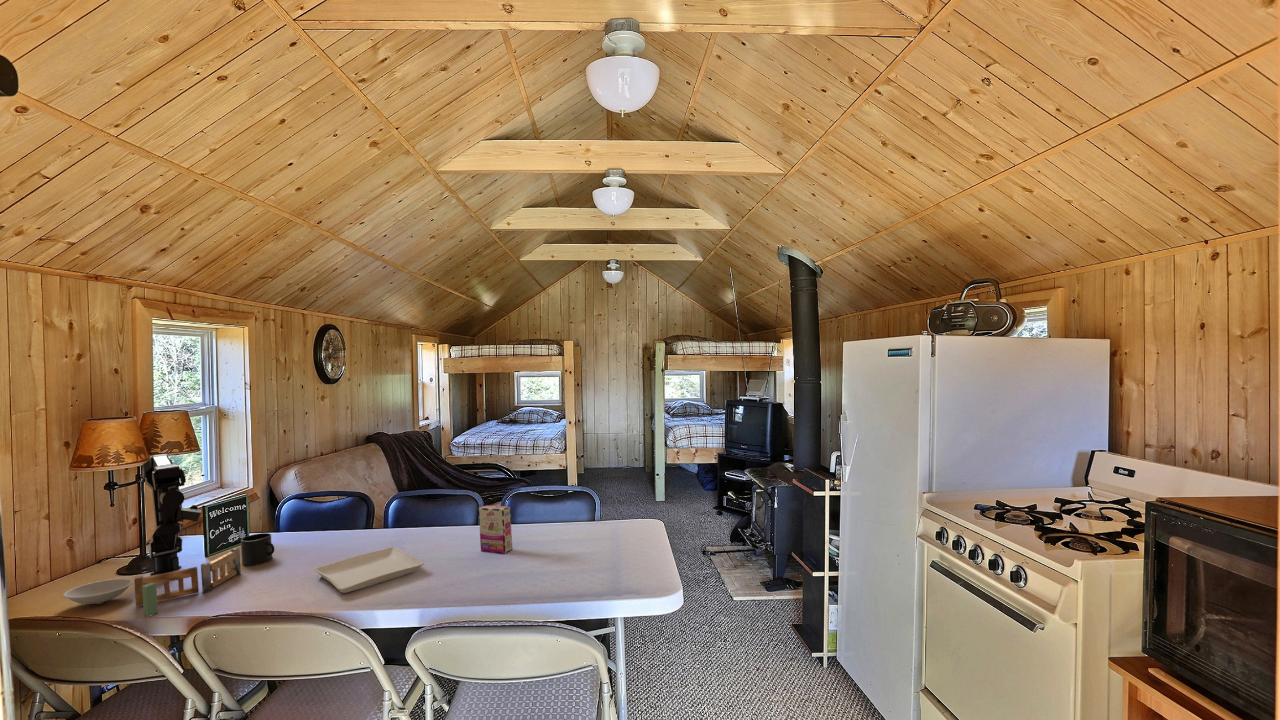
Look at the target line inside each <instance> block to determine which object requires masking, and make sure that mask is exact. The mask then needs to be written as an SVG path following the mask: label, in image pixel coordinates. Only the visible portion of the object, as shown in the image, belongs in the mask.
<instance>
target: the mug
mask: <svg viewBox="0 0 1280 720" xmlns="http://www.w3.org/2000/svg"><path fill="white" fill-rule="evenodd" d="M240 549H241V553H240V554H241V564H242V565H243V566H256V564H257V565H262V564H264V562H265V563H267V562H269V561H271V560H272V559H273V554H274V552H275V545H274V544H273V542H272V533H269V532H263V533H262V532H261V533H254V534H250V535H247V536H245V537H243V538H241V540H240Z"/></svg>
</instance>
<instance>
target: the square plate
mask: <svg viewBox="0 0 1280 720" xmlns="http://www.w3.org/2000/svg"><path fill="white" fill-rule="evenodd" d="M423 565H425V563H424V562H423V561H421V560H420V559H418V558H416V557H415V556H412V555H411V554H409V553H407V552H405V551H403V550H401V549H399V548H397V547H394V546H391V547H387V548H384V549H380V550H375V551H371V552H367V553H364V554H361V555H360V554H359V555H356V556H353V557H350V558H346V559H343V560H339V561H335V562H333V563H329V564H326V565H322V566H318V567H316V568H314V572H316V573H317V574H318V575H320V576H321V577H322V578H324V579H325V580H327V581H328V582H329V583H330V584H332V585H333V586H334V587H335V588H336V589H337V590H338V591H339V592H340V593H343V594H345V593H347V594H348V593H351V592H354V591H358V590H361V589H365V588H368V587H371V586H374V585H377V584H380V583H383V582H388V581H390V580H393V579H396V578H400V577H402V576H405V575H407V574H410V573H413V572H415V571H418V570H419V569H420V568H421V567H422V566H423Z"/></svg>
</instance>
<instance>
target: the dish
mask: <svg viewBox="0 0 1280 720" xmlns="http://www.w3.org/2000/svg"><path fill="white" fill-rule="evenodd" d="M133 584H135V583H134V579H132V578H123V577H122V578H112V579H109V578H108V579H104V580H99V581H93V582H90V583H86V584H85V583H84V584H82V585H79V586H76V587H73V588H71V589H68V590H66V591H65V592H64V593H63V594H62V597H63V598H65V599H69V600H70V601H72V602H75V603H77V604H82V605H92V604H96V605H102V604H104V603H105V602H108V601H110V600H114V599H115V598H117V597H119V596H121V595H122V594H123V593H124V592H126V591H127V590H128V588H130V586H132V585H133Z"/></svg>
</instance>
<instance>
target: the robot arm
mask: <svg viewBox="0 0 1280 720" xmlns="http://www.w3.org/2000/svg"><path fill="white" fill-rule="evenodd" d="M141 473H142V479H144V480H145V484H146V486H148V487H149V489H151V492H152V502H153V504H152V505H153V511H154V513H153V514H154V522H155V530H154V532H153V534H152V535H151V536H150V537H151V538H150V539H151V541H149V544H148V556H149V558H150V559H151V560H152V561H153V571H152V572H150V574H149V575H150V576H153V575H158V574H163V573H168V572H173V571H178V570H180V569H181V568H182V565H180V562H179V560H180V559H179V556H178V553H181V552H182V551H183V538H182V537H180V535H178V533H180V532H181V531H182V530H183V529H182V527H183V525H184V524H183V522H185V521H192V522H194V523H195V522H199V519H200V517H201V515H202V512H203V510H202V509H200V508H198V505H196V504H192V505H191V506H190V507H183V503H184V501H185V495H184V493H183V492H182V491H181V490H180V487H185V484H186V482H187V479H186V476H185V471H184V470H183V468H182V467H180V466H179V464H175V463H174V464H173V460H172V459H171V458H169V454H167V453H161V454H157V455H155V454H154V455H152V456H149V460H147V461H145V462H144V463H143V464H142V469H141ZM180 522H181V523H180Z"/></svg>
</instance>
